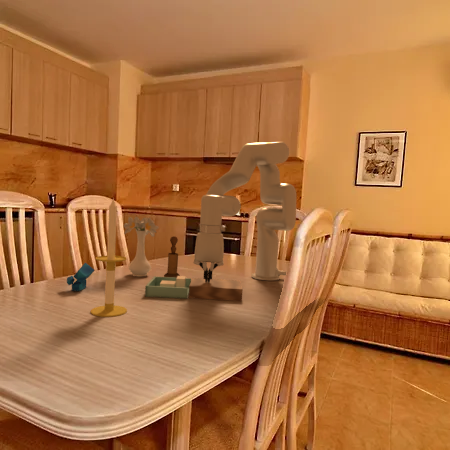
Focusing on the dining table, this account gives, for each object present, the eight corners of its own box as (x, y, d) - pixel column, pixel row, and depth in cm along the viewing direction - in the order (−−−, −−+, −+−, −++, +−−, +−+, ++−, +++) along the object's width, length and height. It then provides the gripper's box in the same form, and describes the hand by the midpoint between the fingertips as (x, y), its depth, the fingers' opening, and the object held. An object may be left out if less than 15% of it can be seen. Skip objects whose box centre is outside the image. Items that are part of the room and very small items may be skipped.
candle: (93, 318, 98) (97, 196, 96) (88, 307, 106) (92, 196, 104) (130, 315, 102) (135, 198, 100) (123, 305, 111) (127, 197, 109)
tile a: (186, 276, 132) (177, 275, 132) (184, 279, 127) (176, 278, 127) (185, 289, 133) (177, 289, 132) (184, 293, 128) (175, 292, 127)
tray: (190, 287, 139) (191, 278, 138) (186, 298, 123) (187, 288, 122) (153, 285, 138) (154, 276, 138) (144, 296, 122) (145, 286, 122)
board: (239, 290, 138) (240, 280, 138) (241, 300, 124) (242, 289, 124) (191, 288, 138) (192, 277, 137) (188, 298, 124) (189, 286, 123)
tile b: (161, 280, 132) (161, 288, 132) (160, 283, 127) (159, 292, 127) (175, 281, 132) (175, 289, 132) (174, 284, 127) (174, 292, 127)
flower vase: (159, 271, 165) (162, 216, 163) (148, 280, 147) (151, 218, 145) (131, 269, 166) (133, 214, 164) (116, 278, 147) (119, 216, 146)
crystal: (60, 272, 120) (77, 258, 132) (63, 296, 123) (78, 280, 134) (83, 274, 120) (97, 260, 131) (84, 297, 122) (98, 282, 134)
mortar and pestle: (176, 283, 144) (179, 237, 143) (161, 281, 146) (163, 236, 145) (182, 280, 151) (184, 236, 150) (167, 278, 152) (169, 235, 151)
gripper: (231, 230, 133) (228, 280, 134) (190, 228, 133) (187, 277, 134) (231, 232, 126) (228, 284, 127) (188, 229, 126) (185, 282, 127)
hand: (207, 281), depth 130 cm, fingers closed
